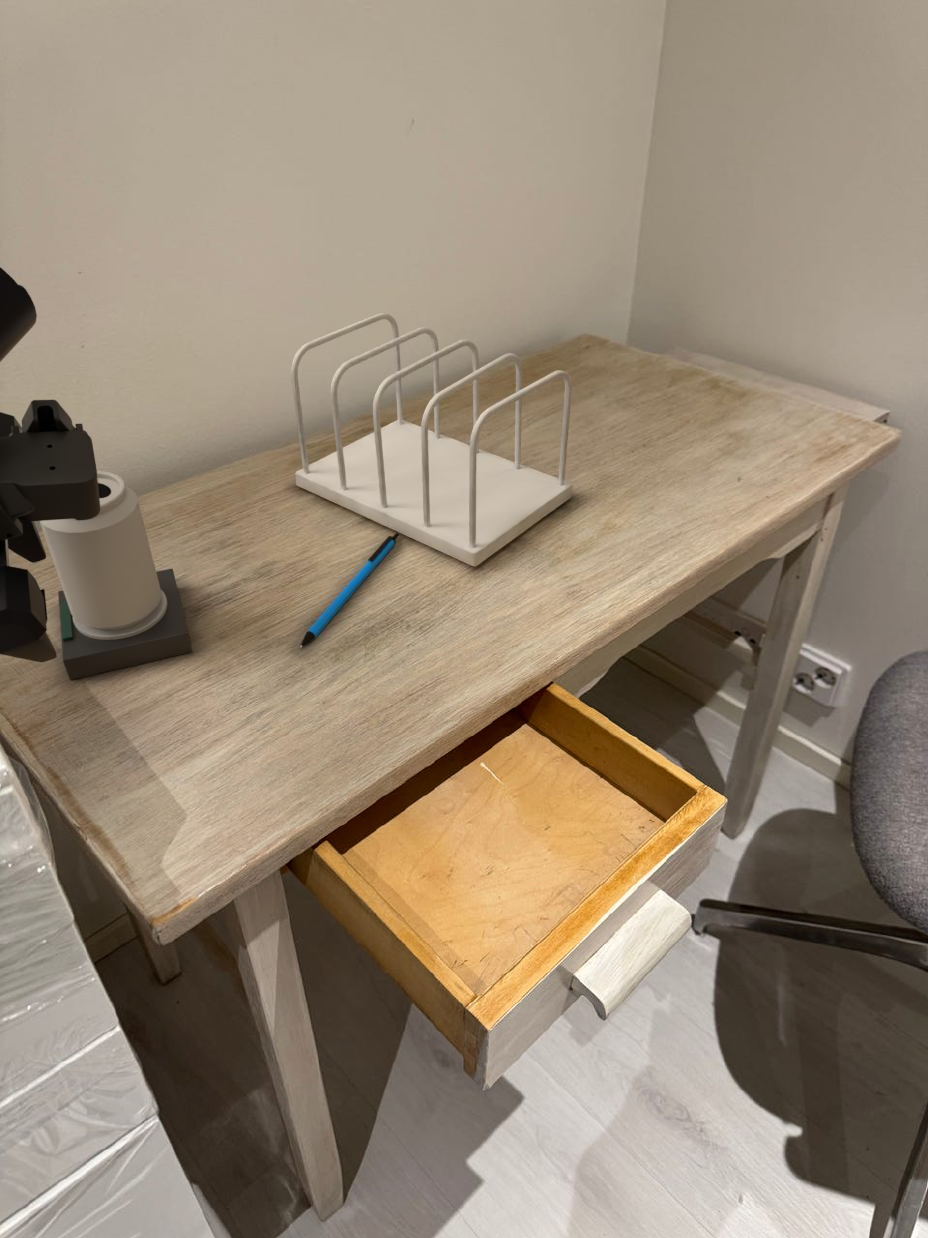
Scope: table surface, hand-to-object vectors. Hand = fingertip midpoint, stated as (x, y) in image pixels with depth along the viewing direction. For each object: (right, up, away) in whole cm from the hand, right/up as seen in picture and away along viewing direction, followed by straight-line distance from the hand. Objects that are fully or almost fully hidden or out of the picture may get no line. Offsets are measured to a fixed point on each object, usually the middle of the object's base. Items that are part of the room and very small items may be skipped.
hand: (44, 606), depth 62 cm
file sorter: (+26, +13, +35) cm, 46 cm away
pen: (+19, +2, +22) cm, 29 cm away
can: (0, 0, +15) cm, 15 cm away
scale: (0, -2, +17) cm, 17 cm away
